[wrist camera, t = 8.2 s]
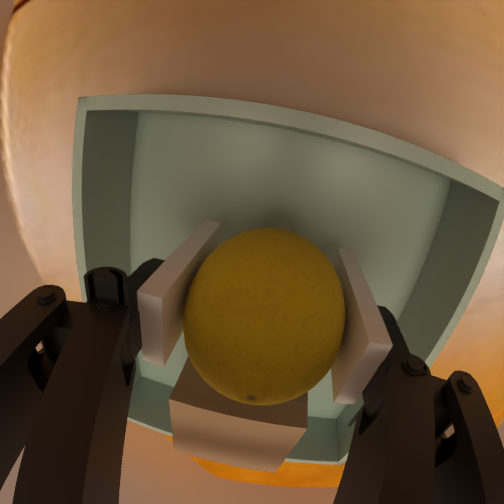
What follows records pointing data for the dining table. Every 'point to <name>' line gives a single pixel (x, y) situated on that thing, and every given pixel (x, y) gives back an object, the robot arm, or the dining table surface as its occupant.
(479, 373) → the dining table surface
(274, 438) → the walnut block
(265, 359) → the lemon
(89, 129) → the box
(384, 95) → the dining table surface
